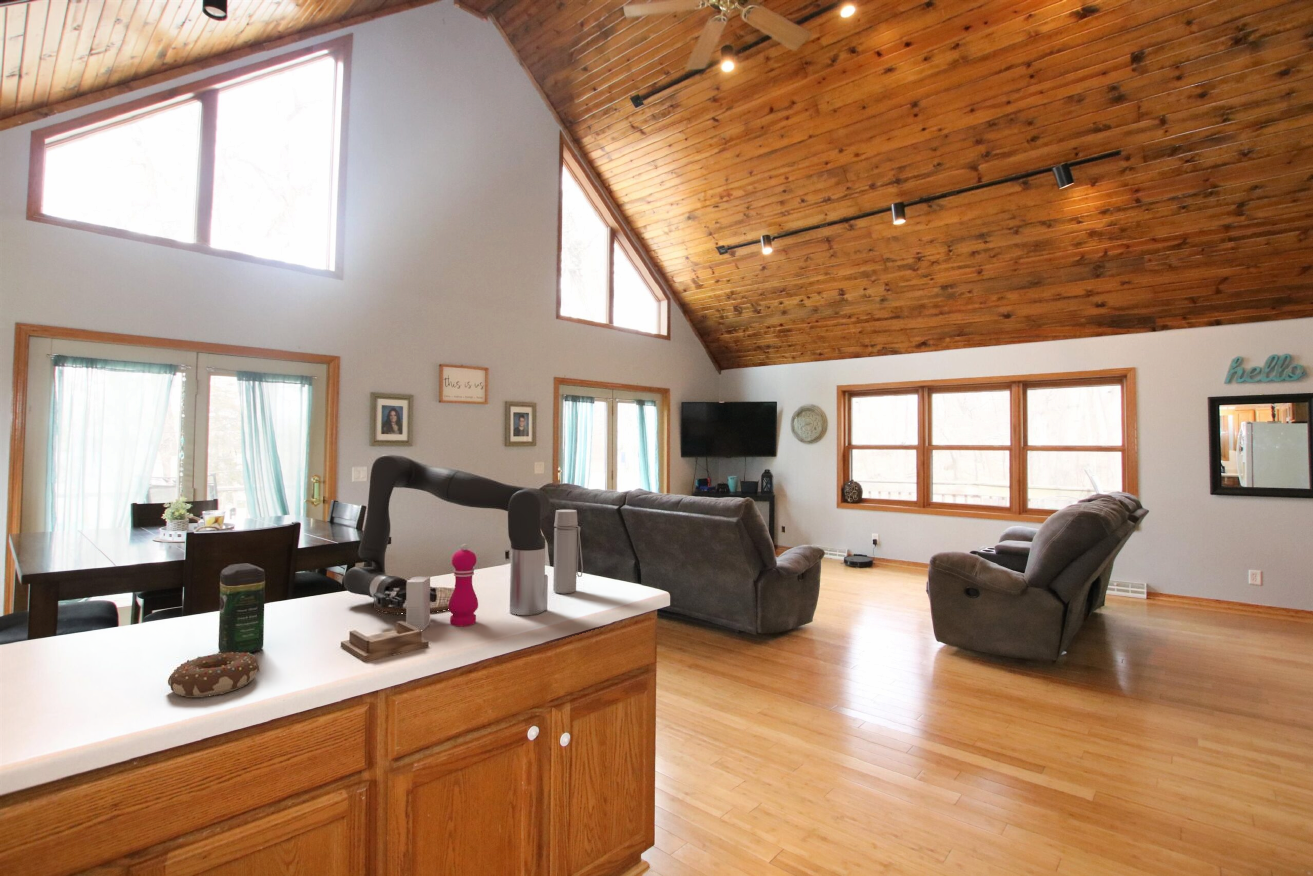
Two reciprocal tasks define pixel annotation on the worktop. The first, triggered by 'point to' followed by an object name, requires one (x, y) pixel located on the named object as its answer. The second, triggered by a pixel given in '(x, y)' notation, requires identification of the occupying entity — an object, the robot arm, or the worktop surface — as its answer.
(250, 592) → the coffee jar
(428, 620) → the skincare box
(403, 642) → the u rest
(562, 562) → the water bottle
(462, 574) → the pepper mill
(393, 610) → the trivet
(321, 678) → the worktop surface
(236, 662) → the donut
